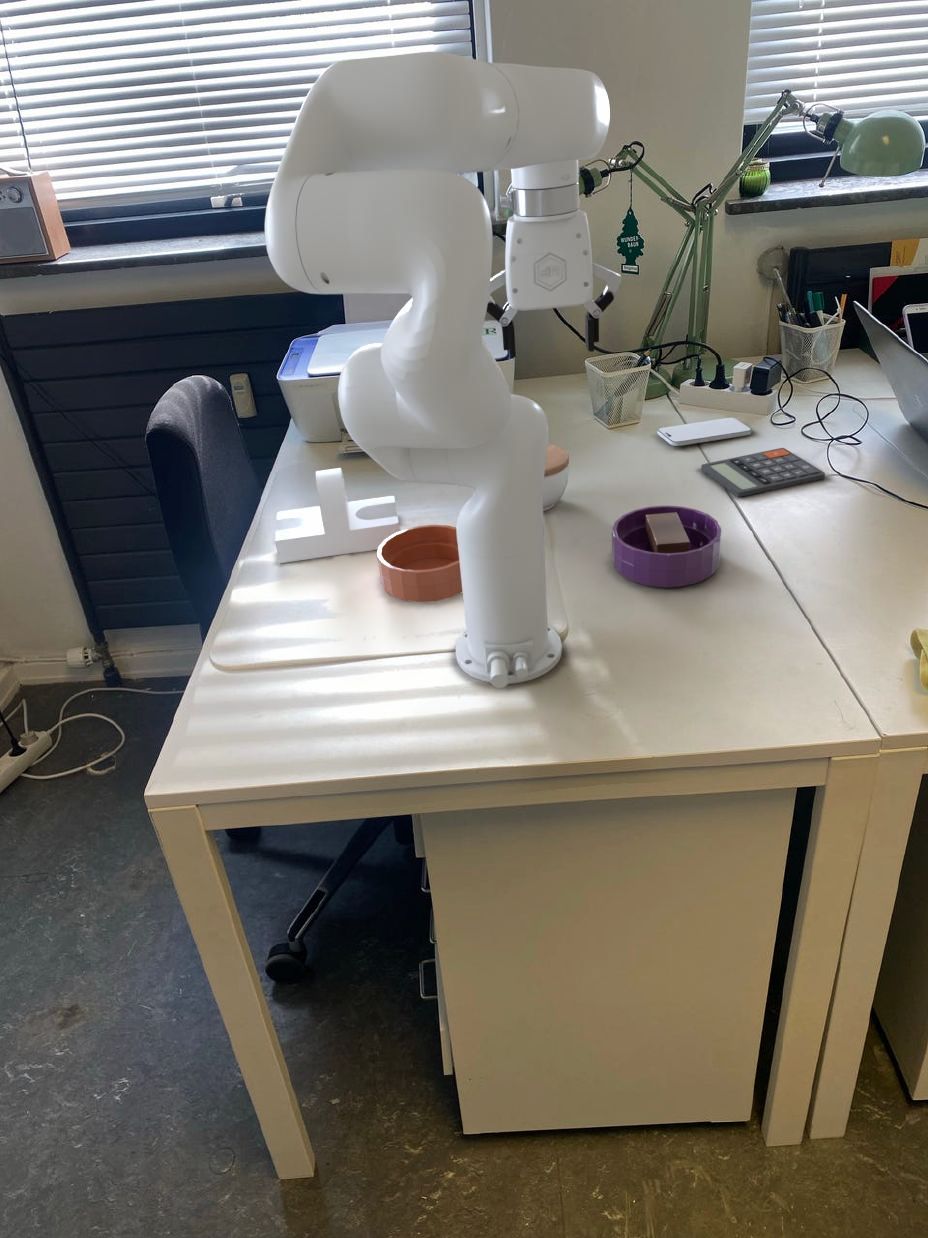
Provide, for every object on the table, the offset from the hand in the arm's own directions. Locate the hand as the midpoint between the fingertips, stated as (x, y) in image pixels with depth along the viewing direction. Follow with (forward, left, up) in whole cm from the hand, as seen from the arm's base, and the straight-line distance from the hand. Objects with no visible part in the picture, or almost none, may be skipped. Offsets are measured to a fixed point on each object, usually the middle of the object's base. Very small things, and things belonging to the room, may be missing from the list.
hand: (551, 351), depth 112 cm
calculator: (+20, -34, -28) cm, 49 cm away
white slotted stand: (+9, +32, -28) cm, 44 cm away
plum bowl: (-6, -14, -28) cm, 32 cm away
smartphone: (+38, -29, -28) cm, 56 cm away
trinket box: (+16, +2, -28) cm, 33 cm away
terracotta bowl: (-5, +18, -28) cm, 34 cm away
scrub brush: (-5, -14, -28) cm, 32 cm away
